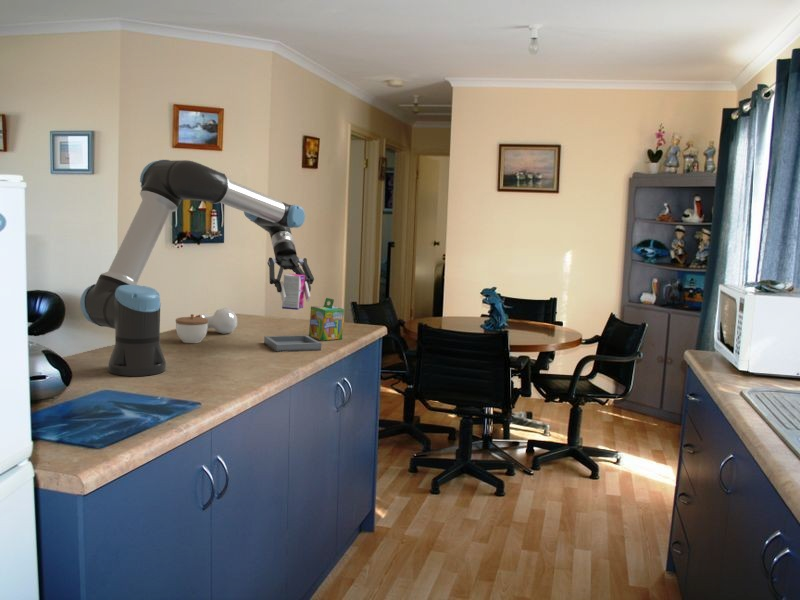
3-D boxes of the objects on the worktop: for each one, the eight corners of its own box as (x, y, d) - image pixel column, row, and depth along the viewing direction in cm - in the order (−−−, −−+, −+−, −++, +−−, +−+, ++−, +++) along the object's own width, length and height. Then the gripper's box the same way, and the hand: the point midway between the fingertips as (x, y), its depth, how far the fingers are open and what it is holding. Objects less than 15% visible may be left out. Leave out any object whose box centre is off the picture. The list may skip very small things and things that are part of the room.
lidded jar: (169, 342, 246) (169, 315, 245) (185, 337, 256) (186, 311, 255) (197, 345, 244) (198, 317, 242) (213, 340, 254) (214, 313, 253)
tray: (276, 351, 240) (277, 344, 240) (264, 343, 254) (264, 336, 253) (321, 350, 247) (321, 343, 247) (306, 341, 261) (306, 335, 260)
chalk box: (308, 337, 270) (309, 297, 268) (328, 335, 276) (330, 296, 274) (323, 341, 263) (324, 300, 261) (343, 339, 269) (345, 299, 267)
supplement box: (298, 310, 245) (299, 276, 243) (281, 308, 246) (282, 274, 244) (304, 307, 250) (305, 274, 249) (287, 306, 251) (288, 273, 250)
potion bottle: (237, 338, 267) (198, 340, 269) (243, 320, 274) (205, 322, 276) (230, 320, 261) (190, 322, 263) (236, 302, 268) (197, 304, 270)
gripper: (257, 239, 250) (268, 292, 237) (314, 241, 258) (328, 292, 246) (252, 253, 255) (263, 306, 243) (309, 254, 264) (322, 305, 252)
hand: (296, 299), depth 244 cm, fingers closed on supplement box, 8 cm apart
